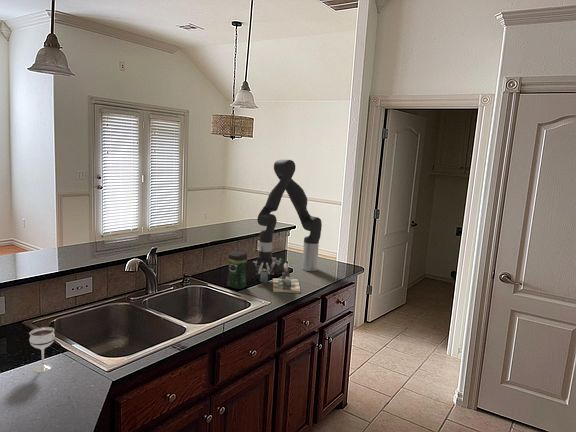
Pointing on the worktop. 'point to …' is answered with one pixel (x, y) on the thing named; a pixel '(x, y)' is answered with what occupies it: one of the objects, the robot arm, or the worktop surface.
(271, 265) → the mechanical component
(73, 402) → the worktop surface
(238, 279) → the coffee jar
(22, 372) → the worktop surface
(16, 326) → the worktop surface
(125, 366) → the worktop surface
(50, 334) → the wineglass
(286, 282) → the shaft rig
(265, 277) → the coupling block
